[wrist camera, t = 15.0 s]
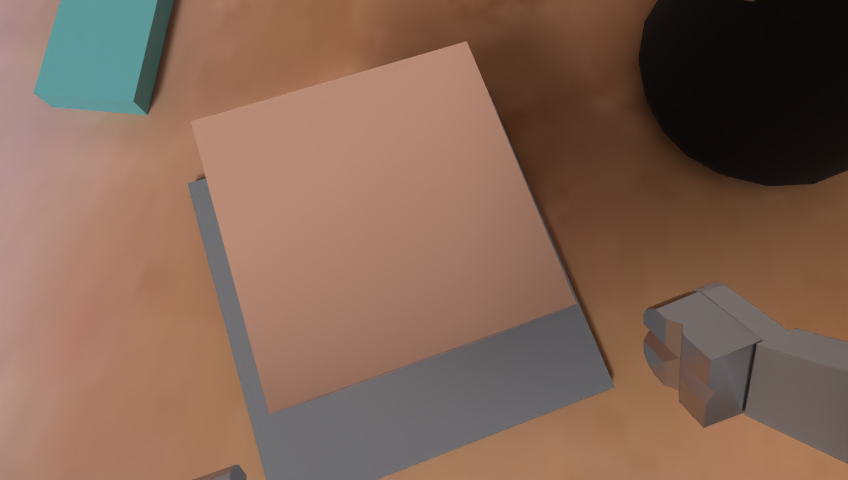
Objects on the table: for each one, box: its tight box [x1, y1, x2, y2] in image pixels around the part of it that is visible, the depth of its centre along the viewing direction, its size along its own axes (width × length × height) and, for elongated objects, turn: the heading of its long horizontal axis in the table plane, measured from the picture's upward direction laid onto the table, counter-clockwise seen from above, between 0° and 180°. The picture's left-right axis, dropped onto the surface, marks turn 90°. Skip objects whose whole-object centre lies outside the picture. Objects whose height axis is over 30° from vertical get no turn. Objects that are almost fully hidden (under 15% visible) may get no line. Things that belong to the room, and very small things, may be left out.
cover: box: [191, 41, 577, 414], centre depth 16 cm, size 6×6×10 cm
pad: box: [188, 90, 615, 480], centre depth 20 cm, size 13×13×1 cm
